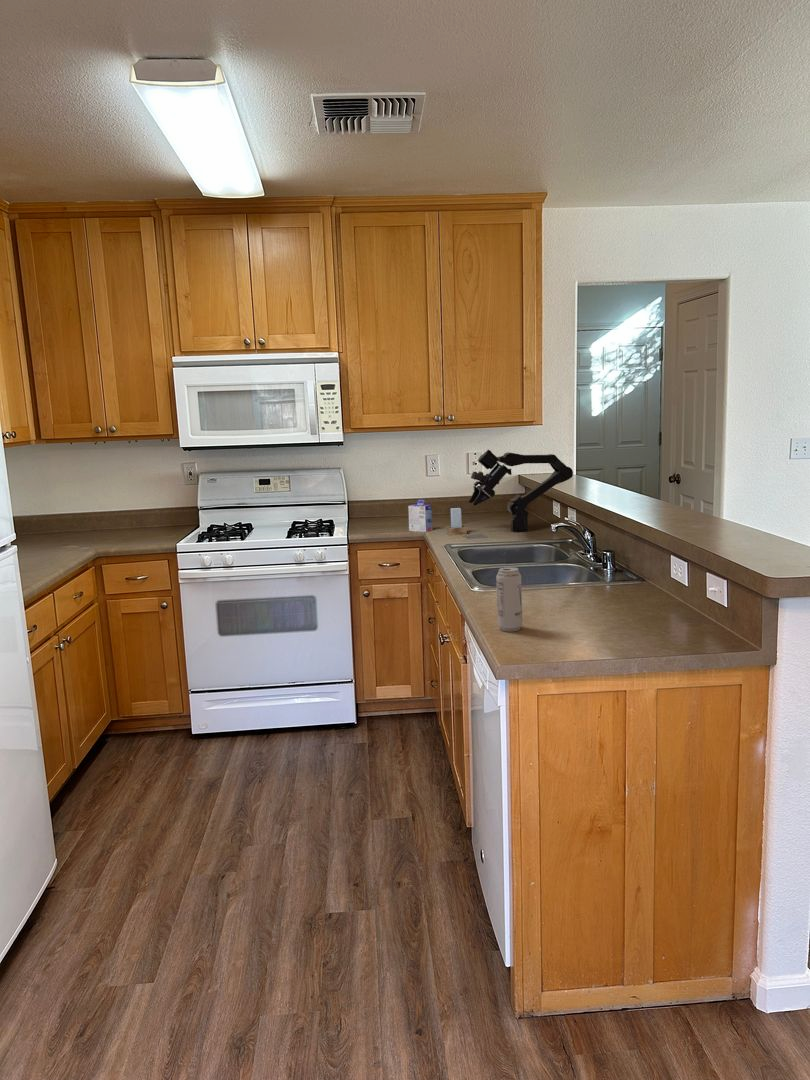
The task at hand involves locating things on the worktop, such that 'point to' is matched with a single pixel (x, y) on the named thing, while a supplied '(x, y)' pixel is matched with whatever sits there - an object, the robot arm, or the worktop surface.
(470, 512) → the worktop surface
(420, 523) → the ink cartridge box
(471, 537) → the mat
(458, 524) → the pale blue rectangular block
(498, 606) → the energy drink can
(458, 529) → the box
